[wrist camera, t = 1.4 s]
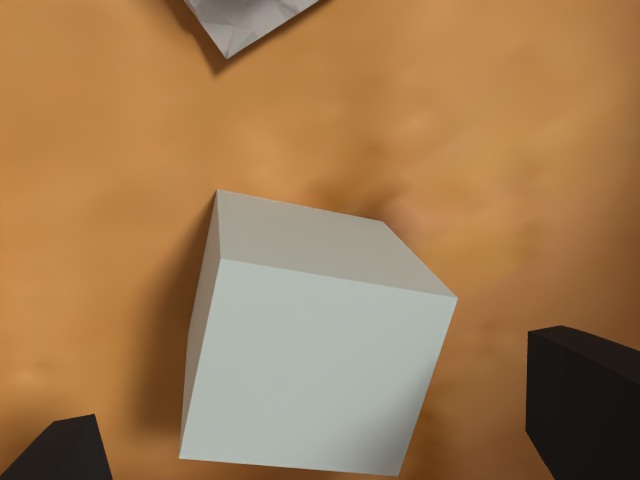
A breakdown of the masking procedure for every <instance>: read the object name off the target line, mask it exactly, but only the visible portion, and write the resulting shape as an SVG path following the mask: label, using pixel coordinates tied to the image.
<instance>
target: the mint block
mask: <svg viewBox="0 0 640 480" xmlns="http://www.w3.org/2000/svg"><path fill="white" fill-rule="evenodd" d="M457 300H458V298H457V297H456V296H455V295H454V294H453V293H452V292H451V291H450V290H449V289H448V288H447V287H446V286H445V284H444V283H443V282H442V281H441V280H440V279H439V278H438V277H437V276H436V275H435V274H434V273H433V272H432V271H431V270H430V269H429V268H428V267H427V266H426V265H425V264H424V263H423V262H422V261H421V260H420V259H419V258H418V257H417V256H416V255H415V254H414V253H413V252H412V251H411V250H410V249H409V248H408V247H407V246H406V245H405V244H404V243H403V242H402V241H401V240H400V239H399V238H398V237H397V236H396V235H395V234H394V233H393V232H392V231H391V230H390V229H389V228H388V226H387V225H386V224H385V223H384V222H382V221H377V220H372V219H367V218H362V217H357V216H351V215H346V214H341V213H336V212H331V211H326V210H321V209H316V208H311V207H306V206H301V205H296V204H291V203H286V202H280V201H275V200H270V199H265V198H260V197H255V196H250V195H245V194H240V193H235V192H230V191H225V190H220V189H217V192H216V197H215V202H214V207H213V211H212V216H211V221H210V226H209V231H208V236H207V241H206V246H205V251H204V256H203V261H202V266H201V271H200V276H199V281H198V286H197V291H196V296H195V301H194V306H193V311H192V316H191V321H190V326H189V331H188V341H187V355H186V368H185V382H184V395H183V409H182V422H181V436H180V449H179V458H180V459H192V460H204V461H216V462H228V463H241V464H253V465H265V466H277V467H290V468H302V469H314V470H326V471H338V472H351V473H363V474H375V475H387V476H398V475H399V472H400V469H401V466H402V463H403V461H404V458H405V455H406V452H407V449H408V446H409V443H410V440H411V437H412V434H413V431H414V428H415V425H416V422H417V419H418V416H419V413H420V410H421V407H422V404H423V401H424V398H425V395H426V392H427V389H428V386H429V383H430V380H431V377H432V374H433V371H434V368H435V365H436V362H437V359H438V357H439V354H440V351H441V348H442V345H443V342H444V339H445V336H446V333H447V330H448V327H449V324H450V321H451V318H452V315H453V312H454V309H455V306H456V303H457Z"/></svg>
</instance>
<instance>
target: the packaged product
mask: <svg viewBox="0 0 640 480" xmlns="http://www.w3.org/2000/svg"><path fill="white" fill-rule="evenodd" d="M317 1H319V0H184V2H185V3H186V4H187V6H188V7H189V8H190V10H191V11H192V12H193V14H194V15H195V16H196V18H197V19H198V20H199V22H200V23H201V25H202V26H203V27H204V29H205V30H206V31H207V33H208V34H209V36H210V37H211V38H212V40H213V41H214V43H215V44H216V45H217V47H218V48H219V49H220V51H221V52H222V54H223V55H224V56H225V58H226V59H228V58H230V57H231V56H233V55H234V54H236V53H237V52H239V51H240V50H242V49H243V48H245V47H247V46H248V45H250V44H251V43H253V42H254V41H256V40H258V39H259V38H261V37H262V36H264V35H265V34H267V33H269V32H270V31H272V30H273V29H275V28H277V27H278V26H280V25H281V24H283V23H284V22H286V21H288V20H289V19H291V18H292V17H294V16H295V15H297V14H299V13H300V12H302V11H303V10H305V9H306V8H308V7H310V6H311V5H313V4H314V3H316V2H317Z"/></svg>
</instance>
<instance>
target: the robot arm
mask: <svg viewBox="0 0 640 480" xmlns="http://www.w3.org/2000/svg"><path fill="white" fill-rule="evenodd" d="M526 432H527V434H528V436H529V437H530V439H531V441H532V443H533V444H534V446H535V448H536V449H537V451H538V453H539V455H540V456H541V458H542V460H543V461H544V463H545V464H546V466H547V468H548V469H549V471H550V472H551V474H552V476H553V477H554V479H555V480H640V351H637V350H635V349H632V348H629V347H626V346H624V345H621V344H618V343H615V342H612V341H610V340H607V339H604V338H601V337H598V336H595V335H592V334H589V333H586V332H583V331H580V330H577V329H573V328H569V327H565V326H561V325H560V326H555V327H549V328H544V329H539V330H534V331H528V350H527V391H526ZM0 480H113V479H112V475H111V472H110V468H109V464H108V461H107V457H106V454H105V450H104V446H103V443H102V439H101V436H100V432H99V428H98V425H97V421H96V417H95V414H91V415H86V416H81V417H76V418H70V419H65V420H60V421H54V422H53V423H52V424H51V425H49V426H48V427H47V428H46V429H45V430H44V431H43V432H42V433H41V434H40V435H39V436H38V437H37V438H36V439H35V440H34V441H33V442H32V443H31V444H30V446H29V447H28V448H27V449H26V450H25V451H24V452H23V453H22V454H21V455H20V456H19V457H18V458H17V459H16V460H15V461H14V462H13V463H12V464H11V466H10V467H9V468H8V469H7V470H6V471H5V472H4V473H3V474H2V475H1V476H0Z"/></svg>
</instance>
